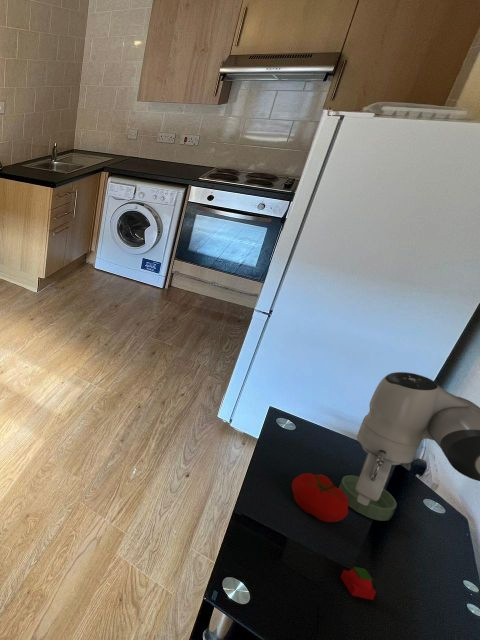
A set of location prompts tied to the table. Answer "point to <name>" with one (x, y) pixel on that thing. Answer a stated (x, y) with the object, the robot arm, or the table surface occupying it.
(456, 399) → the robot arm
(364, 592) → the strawberry
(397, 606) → the table surface
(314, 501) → the tomato
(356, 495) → the bowl
